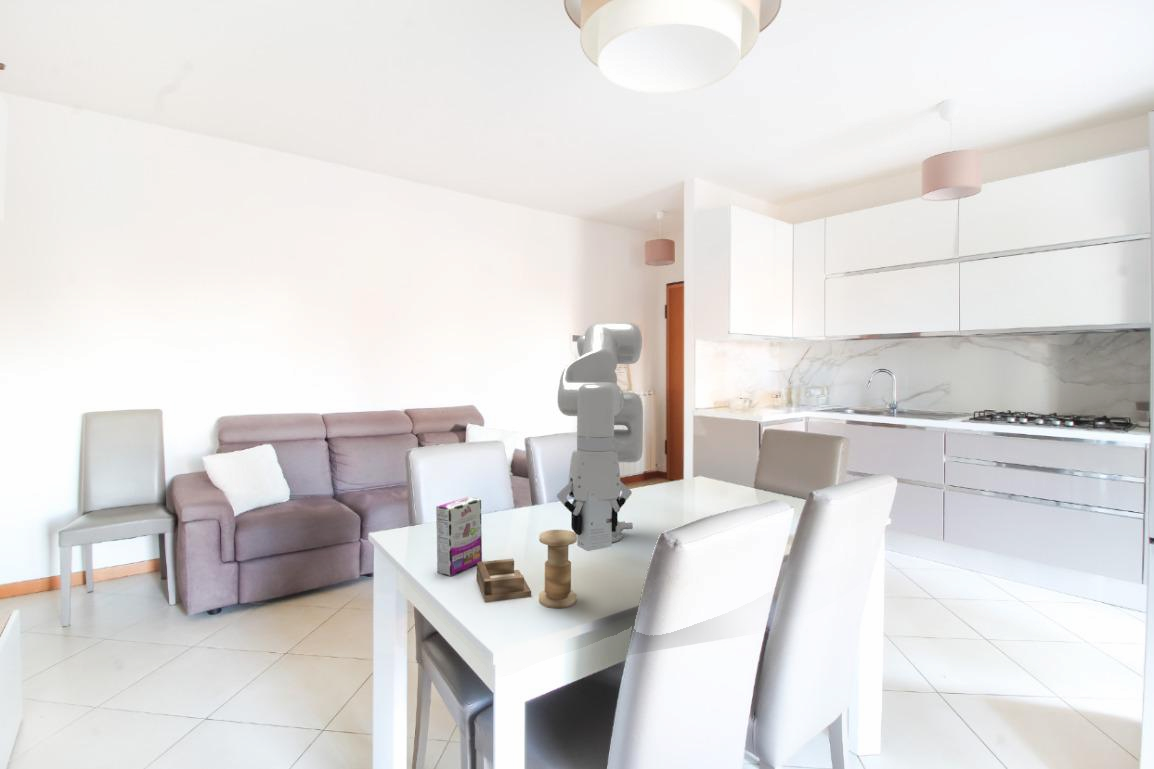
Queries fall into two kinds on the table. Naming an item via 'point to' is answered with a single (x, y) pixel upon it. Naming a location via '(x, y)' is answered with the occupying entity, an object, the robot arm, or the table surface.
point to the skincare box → (595, 524)
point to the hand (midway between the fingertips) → (594, 530)
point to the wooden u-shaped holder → (501, 580)
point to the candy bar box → (458, 535)
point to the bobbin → (557, 569)
